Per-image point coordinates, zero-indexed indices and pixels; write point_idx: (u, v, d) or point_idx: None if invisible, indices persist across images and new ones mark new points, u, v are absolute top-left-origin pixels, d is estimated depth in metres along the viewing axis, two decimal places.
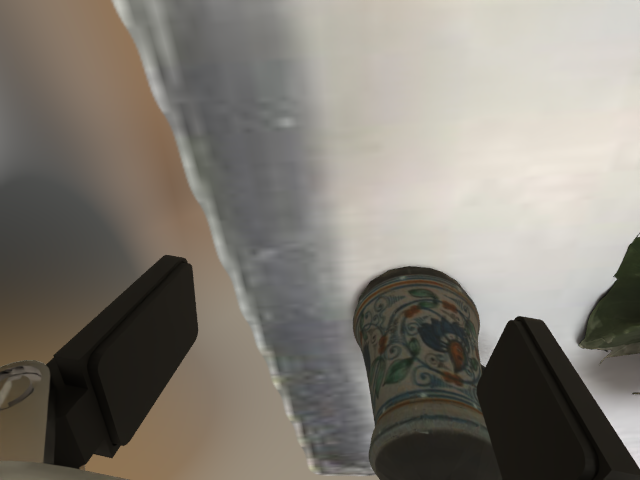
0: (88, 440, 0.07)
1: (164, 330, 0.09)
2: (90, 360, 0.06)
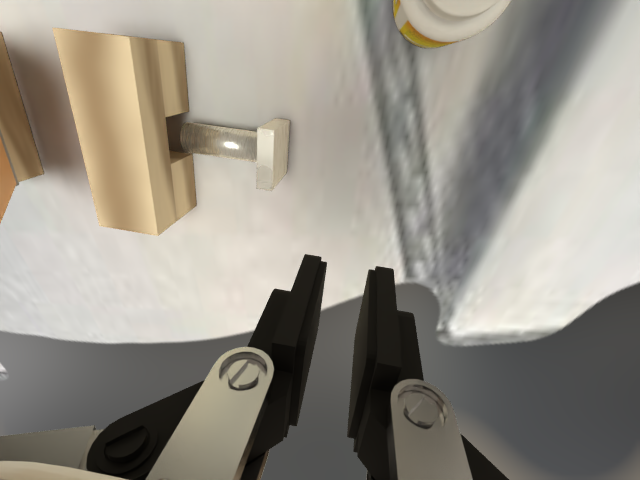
0: (285, 419, 0.08)
1: (315, 323, 0.10)
2: (298, 347, 0.07)
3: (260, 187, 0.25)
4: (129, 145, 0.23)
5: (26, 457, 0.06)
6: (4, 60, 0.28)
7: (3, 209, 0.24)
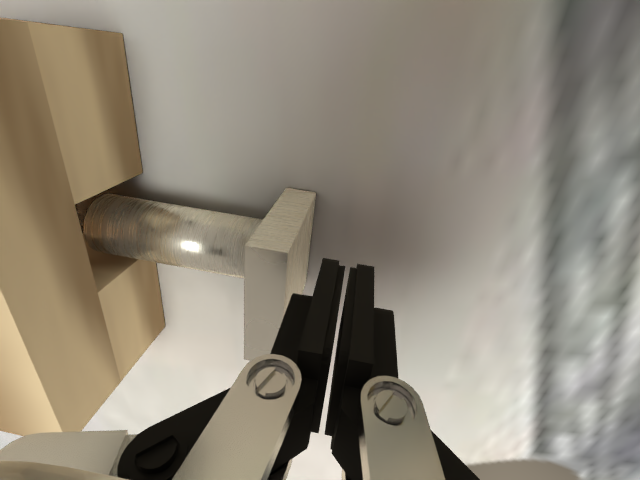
0: (310, 426, 0.07)
1: None
2: (324, 354, 0.07)
3: (253, 358, 0.11)
4: None
5: (61, 457, 0.06)
6: None
7: None
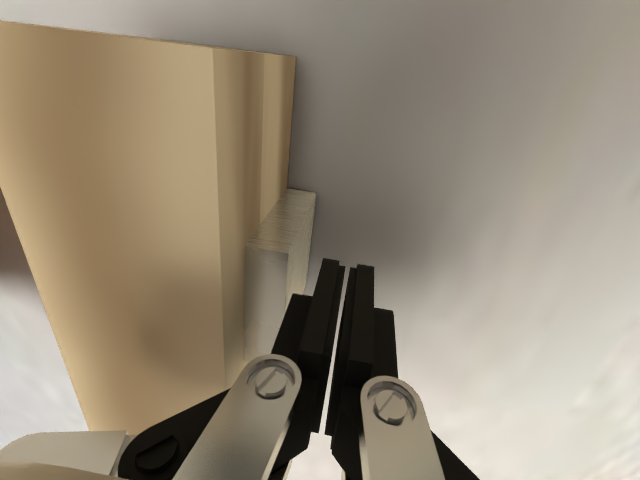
0: None
1: None
2: (324, 354, 0.07)
3: None
4: (179, 336, 0.09)
5: (61, 458, 0.06)
6: None
7: None
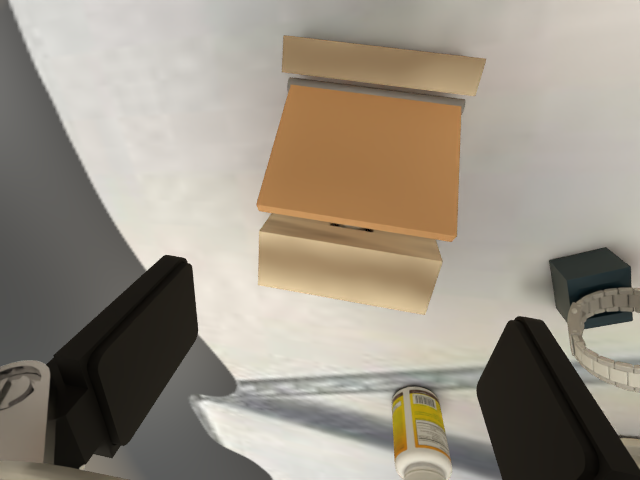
0: (88, 440, 0.07)
1: (164, 330, 0.09)
2: (90, 360, 0.06)
3: None
4: (343, 287, 0.26)
5: None
6: None
7: None
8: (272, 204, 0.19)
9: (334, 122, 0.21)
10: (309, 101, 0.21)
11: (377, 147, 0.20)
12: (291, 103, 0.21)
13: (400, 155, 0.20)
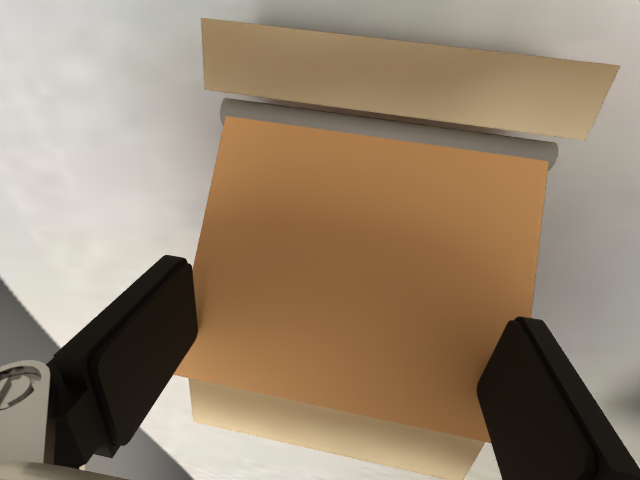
0: (88, 440, 0.07)
1: (164, 330, 0.09)
2: (90, 360, 0.06)
3: None
4: (328, 437, 0.16)
5: None
6: None
7: None
8: (197, 373, 0.11)
9: (304, 201, 0.11)
10: (259, 154, 0.12)
11: (381, 257, 0.11)
12: (227, 159, 0.12)
13: (423, 274, 0.11)
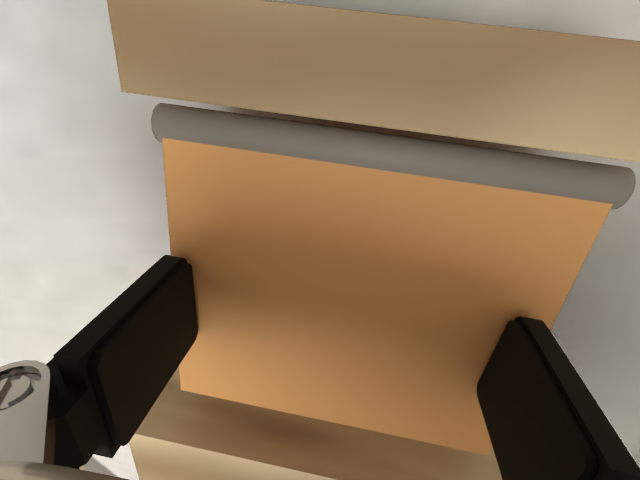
0: (88, 440, 0.07)
1: (164, 330, 0.09)
2: (90, 360, 0.06)
3: None
4: None
5: None
6: None
7: None
8: (203, 390, 0.12)
9: (281, 249, 0.09)
10: (217, 190, 0.09)
11: (373, 309, 0.10)
12: (179, 198, 0.09)
13: (418, 327, 0.10)
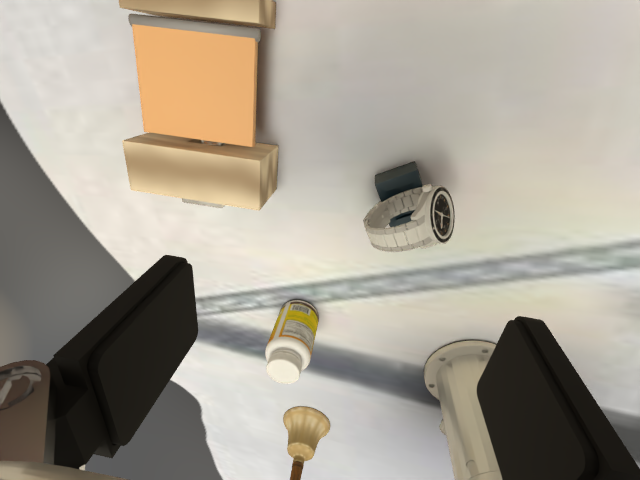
0: (88, 440, 0.07)
1: (164, 330, 0.09)
2: (90, 360, 0.06)
3: None
4: (194, 189, 0.33)
5: None
6: (252, 25, 0.31)
7: None
8: (152, 131, 0.33)
9: (171, 62, 0.30)
10: (149, 41, 0.29)
11: (202, 83, 0.30)
12: (138, 45, 0.30)
13: (217, 89, 0.30)
